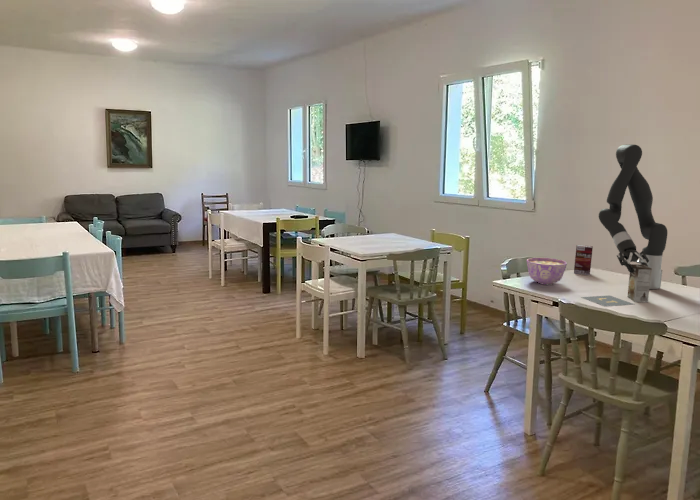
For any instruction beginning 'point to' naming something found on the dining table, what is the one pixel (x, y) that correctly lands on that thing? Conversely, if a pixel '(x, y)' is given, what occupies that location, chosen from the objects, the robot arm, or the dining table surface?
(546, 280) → the bowl of food
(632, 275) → the coffee box
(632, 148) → the robot arm
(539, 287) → the dining table surface
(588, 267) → the supplement box
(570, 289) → the dining table surface
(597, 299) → the mat
